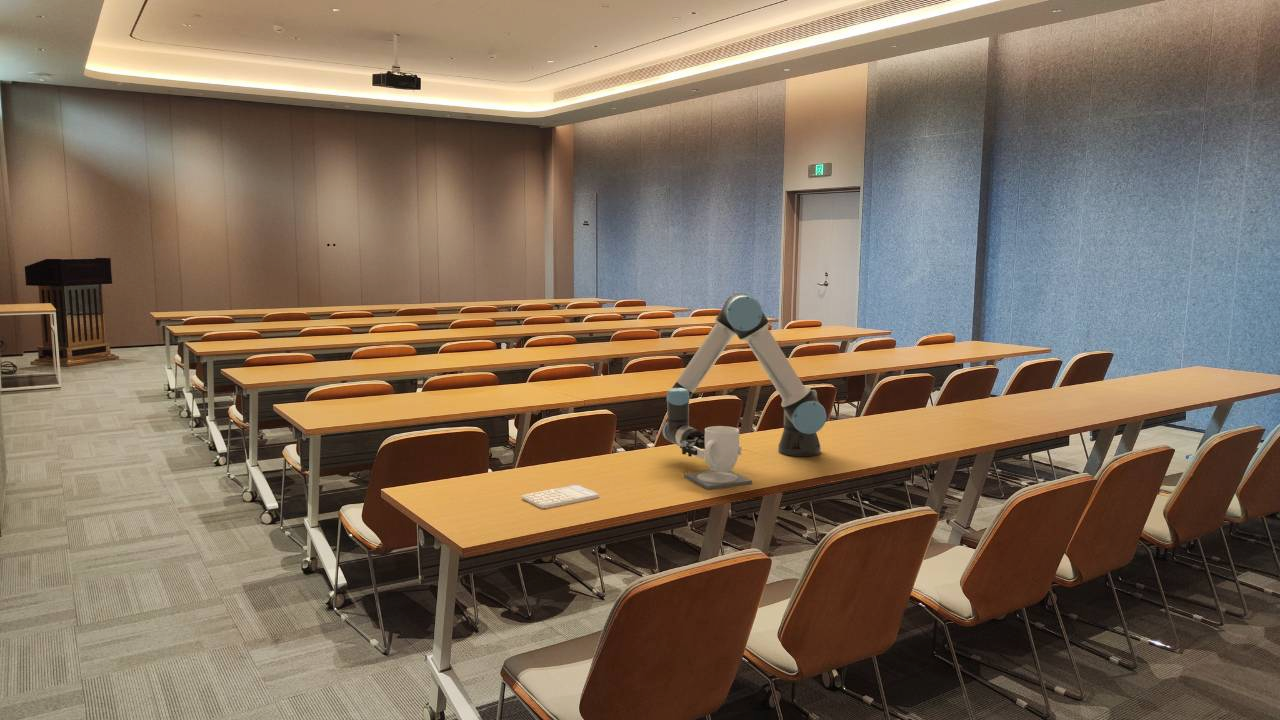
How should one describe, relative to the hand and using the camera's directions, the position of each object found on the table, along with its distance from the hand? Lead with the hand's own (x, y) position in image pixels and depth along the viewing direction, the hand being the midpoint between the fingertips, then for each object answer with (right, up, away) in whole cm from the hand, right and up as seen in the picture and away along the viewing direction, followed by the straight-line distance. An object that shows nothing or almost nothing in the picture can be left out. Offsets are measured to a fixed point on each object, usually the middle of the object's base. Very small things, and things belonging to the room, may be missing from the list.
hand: (722, 452), depth 272 cm
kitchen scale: (-1, -9, +4) cm, 10 cm away
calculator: (-50, -13, -14) cm, 53 cm away
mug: (-1, -6, +2) cm, 6 cm away
